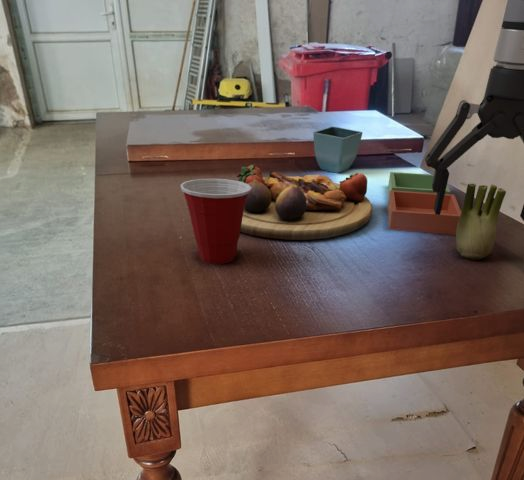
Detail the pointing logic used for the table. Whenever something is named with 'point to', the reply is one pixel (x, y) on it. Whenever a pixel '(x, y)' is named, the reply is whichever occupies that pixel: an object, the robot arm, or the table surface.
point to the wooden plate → (303, 205)
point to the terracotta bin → (422, 212)
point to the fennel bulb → (478, 222)
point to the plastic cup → (216, 216)
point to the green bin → (412, 182)
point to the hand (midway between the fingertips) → (480, 215)
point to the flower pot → (336, 148)
